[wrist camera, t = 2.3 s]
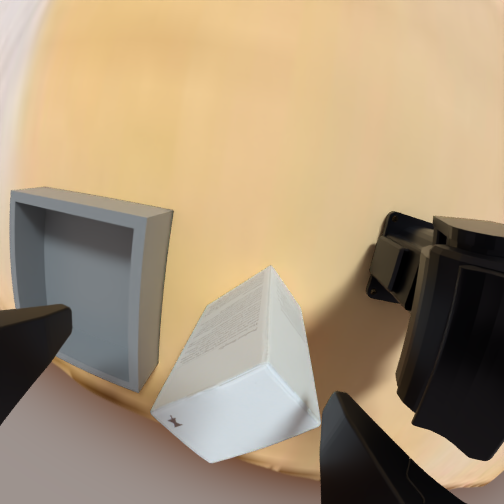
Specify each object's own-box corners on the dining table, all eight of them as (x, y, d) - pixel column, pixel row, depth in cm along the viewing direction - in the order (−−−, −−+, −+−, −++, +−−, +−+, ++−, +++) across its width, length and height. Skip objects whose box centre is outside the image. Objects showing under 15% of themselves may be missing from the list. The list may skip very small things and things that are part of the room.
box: (173, 210, 20) (147, 217, 16) (158, 362, 24) (138, 393, 19) (45, 186, 21) (10, 190, 16) (47, 317, 24) (20, 335, 20)
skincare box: (239, 345, 22) (207, 466, 11) (206, 304, 22) (143, 412, 10) (304, 307, 21) (324, 428, 9) (273, 261, 20) (264, 359, 9)
